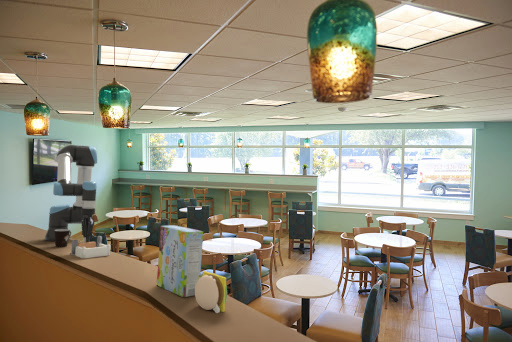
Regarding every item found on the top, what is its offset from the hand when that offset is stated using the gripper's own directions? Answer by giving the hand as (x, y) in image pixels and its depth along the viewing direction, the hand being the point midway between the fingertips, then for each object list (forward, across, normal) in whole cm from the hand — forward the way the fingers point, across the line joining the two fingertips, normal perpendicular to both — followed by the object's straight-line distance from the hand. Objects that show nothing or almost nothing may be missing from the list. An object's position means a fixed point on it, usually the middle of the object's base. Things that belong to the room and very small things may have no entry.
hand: (86, 248), depth 216 cm
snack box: (+2, +91, -1) cm, 91 cm away
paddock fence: (+2, +8, -1) cm, 8 cm away
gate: (+1, +2, -2) cm, 4 cm away
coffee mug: (+3, -24, -3) cm, 24 cm away
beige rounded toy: (+1, +116, -5) cm, 116 cm away
